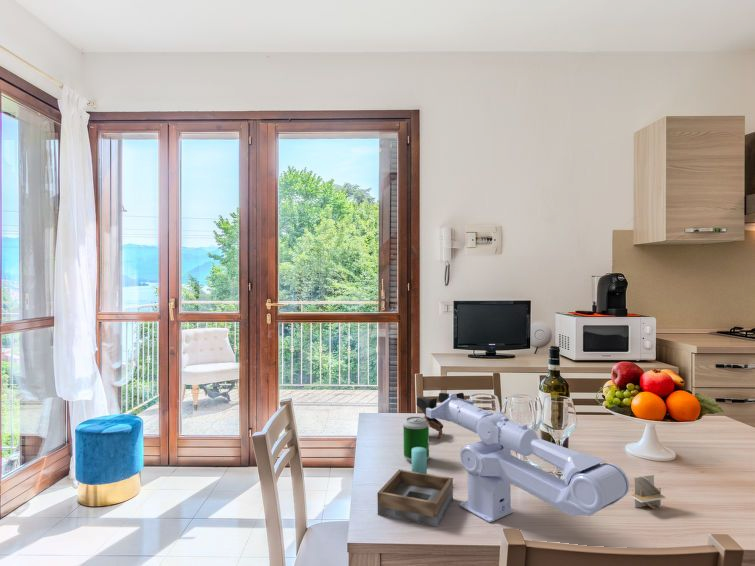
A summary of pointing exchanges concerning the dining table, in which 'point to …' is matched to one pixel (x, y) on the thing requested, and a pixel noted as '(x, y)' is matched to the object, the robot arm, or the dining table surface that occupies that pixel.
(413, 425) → the soda can
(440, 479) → the socket box
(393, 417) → the dining table surface
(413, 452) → the peg
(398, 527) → the dining table surface
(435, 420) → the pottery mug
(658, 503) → the architectural model
